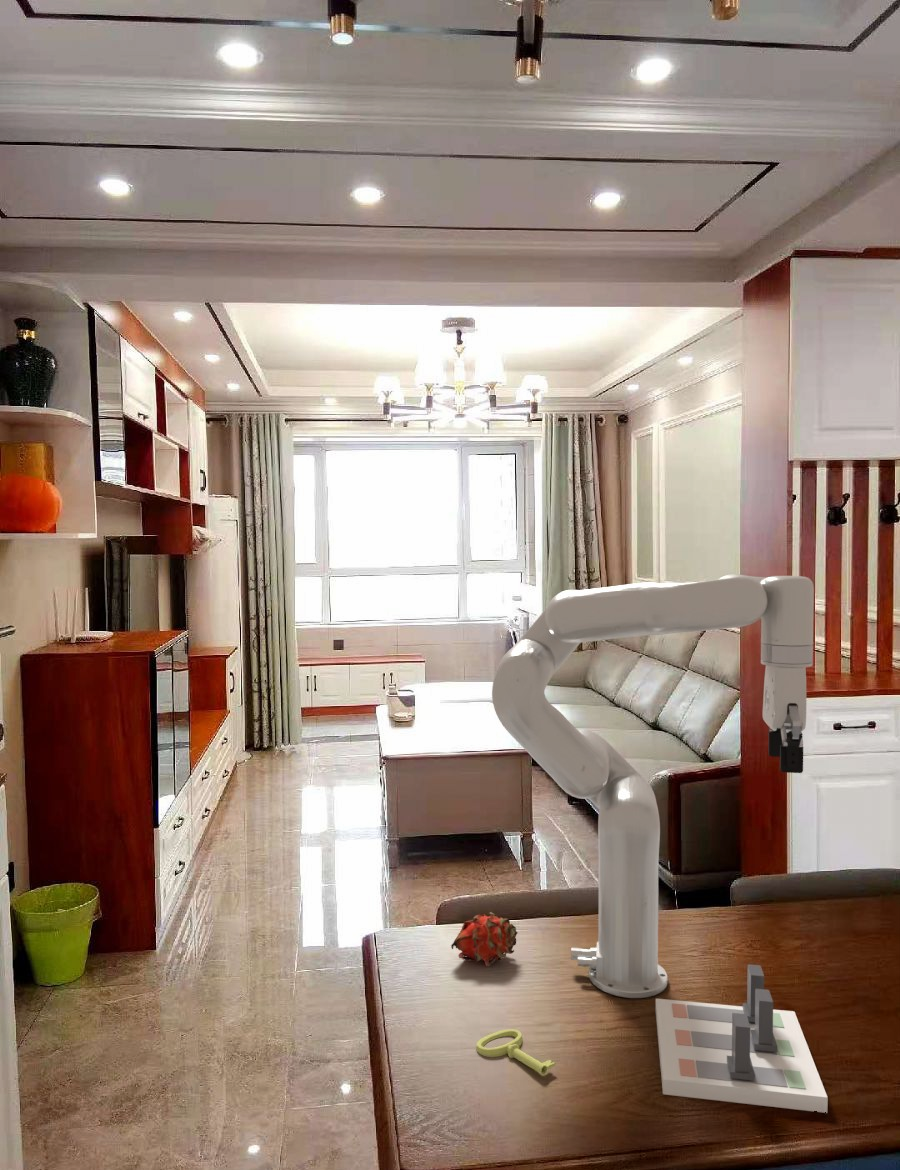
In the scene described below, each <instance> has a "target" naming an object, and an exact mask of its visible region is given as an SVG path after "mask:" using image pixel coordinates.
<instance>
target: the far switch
mask: <svg viewBox="0 0 900 1170" xmlns="http://www.w3.org/2000/svg"><path fill="white" fill-rule="evenodd" d="M746 977H747V978H746V979H747V980H746V981H747V984H746V985H747V987H746V988H747V991H746V993H747V995H746V997H747V998H746V999H747V1000H746V1002H742V1007H743V1011H744V1014H747V1018H748V1021H749V1022H755V989H765V975H764V972H763V969H762V966H761V965H759V964H747V976H746Z"/></svg>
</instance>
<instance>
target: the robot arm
mask: <svg viewBox="0 0 900 1170" xmlns="http://www.w3.org/2000/svg"><path fill="white" fill-rule="evenodd" d="M814 587H815V586H814V583H813V580H812V579H811V578H809V577H808V576H803V575H802V576H801V575H771V576H768V577H764V576H762V577H761V576H753V575H752V576H751V575H746V574H737V573H731V574H726V575H724V576H721V577H719V578H718V579H712V580H702V581H695V582H683V583H662V582H661V583H659V582H635V583H629V584H620V585H614V586H611V585H610V586H605V587H597V588H596V587H595V588H590V589H589V588H587V589H580V590H579V589H567V590H563V591H560V592H558V594H556V595H554V596H553V597H552V598H551V600H550V601H549V602H548V604H547V606H546V608H545V609H544V610H543V612H542V613H541V614H540V615H539V616H538V618H537V619H536V620H535V621H534V622H533V623H532V625H530V627H529V628H528V629H527V630H526V631H525V632H524V633H523V635H522V636H521V637H520V639H518V641H516V642H515V644H514V645H513V646H512V647H511V648H510V649H509V650H507V652H505V654H504V655H503V656H502V658H501V659H500V661H499V662H498V663H499V664H498V666H497V668H496V670H495V674H494V678H493V681H492V688H491V689H492V690H491V698H492V704H493V708H494V711H495V714H496V716H497V719H498V720H499V722H500V724H501V725H502V727H504V729H505V730H506V731H507V733H509V735H510V736H511V737H512V738H513V739H514V740H515V741H516V742H517V743H518V744H519V745H520V746H521V747H522V748H523V749H524V750H525V751H526V752H527V753H528V754H529V755H530V757H531V758H532V759H533V760H534V761H535V762H536V763H537V764H538V765H539V766H540V767H541V768H542V770H544V771H545V772H546V773H547V775H549V776H550V777H551V778H552V779H553V781H554V782H555V783H556V784H557V786H558V787H560V788H561V790H563V791H564V792H565V793H566V794H567V795H569V796H571V797H574V798H576V799H581V800H582V799H583V800H584V799H585V800H586V799H588V800H589V801H590V802H592V804H593V805H595V807H597V809H598V820H597V823H598V824H597V830H598V832H597V834H598V837H597V839H598V843H597V844H598V941H596V946H595V947H594V946H590V949H587V948H582V947H571V950H570V952H571V953H570V959H571V960H573V961H577V966H578V967H588V977H589V980H590V982H591V983H592V984H593V985H594V986H595V987H596V988H598V989H599V990H601V991H603V992H604V993H607V994H610V995H612V996H616V997H621V998H624V999H626V998H628V999H644V998H651V997H654V996H656V995H659V994H661V993H662V992H664V991H665V989H666V988H667V986H668V974H667V971H666V970H665V968H663V967H662V966H661V965H660V964H659V861H660V860H659V858H660V857H659V856H660V855H659V854H660V837H661V823H660V814H659V813H660V812H659V808H658V804H657V799H656V798H657V797H656V795H655V792H654V790H653V788H652V786H651V785H650V783H649V782H648V781H647V780H646V778H644V777H643V776H642V775H641V774H640V772H638V771H637V769H635V767H633V765H631V764H630V762H628V760H627V759H625V758H624V757H623V756H622V755H621V754H620V753H619V752H618V751H617V750H616V749H615V748H614V747H613V746H612V745H611V744H610V743H609V742H608V740H606V739H605V738H603V737H602V736H601V735H600V734H598V733H596V732H595V731H593V730H592V731H591V730H589V729H577V728H576V727H575V726H574V725H573V724H572V723H571V722H570V721H569V720H568V719H567V717H566V716H565V715H564V714H563V713H562V712H561V711H559V710H558V709H557V708H556V707H555V706H553V705H552V704H551V703H550V702H549V700H548V699H547V697H546V695H545V694H546V693H545V690H546V687H547V685H548V684H549V683H550V682H551V679H552V677H553V676H554V675H555V673H557V671H558V670H559V668H560V667H561V666H562V665H563V664H564V663H565V661H567V660H568V658H569V657H570V656H571V654H572V653H573V652H574V651H575V650H576V648H578V646H579V645H580V644H581V643H590V642H597V641H598V642H599V641H600V642H601V641H606V640H614V639H624V638H633V637H645V636H646V637H647V636H661V635H662V636H663V635H669V634H678V633H690V632H691V633H693V632H694V633H695V632H704V631H714V630H715V631H716V630H724V629H732V628H733V629H734V628H740V627H745V626H749V625H751V624H754V623H756V622H757V621H759V620H760V621H761V622H760V625H761V626H760V636H761V637H760V664H761V665H763V666H765V670H764V680H763V681H764V682H763V699H762V719H763V721H764V722H765V723H766V725H767V726H768V730H769V731H768V749H767V751H768V753H767V754H768V756H769V757H774V758H775V757H776V758H778V757H779V770H780V771H781V773H785V774H786V773H789V774H791V773H792V774H802V773H803V772H804V741H803V736H804V735H803V733H802V732H803V731H804V730H806V725H807V724H806V723H807V673H806V672H807V671H806V668H810V667H813V666H814V665H813V663H814V662H813V661H814V659H813V657H814V650H813V649H814V605H815V604H814V602H815V600H814V599H815V598H814V596H815V588H814Z"/></svg>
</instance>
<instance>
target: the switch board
mask: <svg viewBox="0 0 900 1170" xmlns="http://www.w3.org/2000/svg"><path fill="white" fill-rule="evenodd" d="M732 1013H739V1014H744V1011H743V1006H742V1005H741V1006H740V1005H730V1004H729V1005H728V1004H720V1003H718V1004H717V1003H709V1002H708V1003H707V1002H699V1001H698V1002H697V1001H685V1000H677V999H676V1000H675V999H674V1000H673V999H668V998H667V999H664V998H655V1022H656V1030H657V1031H656V1032H657V1041H658V1042H657V1043H658V1053H659V1067H660V1073H661V1075H660V1077H661V1086H662V1087H661V1088H662V1089H661V1090H662V1095H667V1096H675V1097H676V1096H677V1097H684V1098H692V1099H693V1098H694V1099H702V1100H709V1101H710V1100H711V1101H720V1102H727V1103H735V1104H736V1103H737V1104H744V1105H745V1104H747V1105H753V1106H764V1107H772V1108H773V1107H774V1108H781V1109H789V1110H798V1111H806V1112H814V1111H817V1113H824V1114H828V1101H829V1099H828V1098H829V1097H828V1094H827V1092H826V1090H825V1087H824V1085H823V1081H822V1080H821V1077H820V1074H819V1071H818V1070H817V1067H816V1064H815V1062H814V1059H813V1056H812V1054H811V1051H810V1049H809V1048H810V1047H809V1045H808V1043H807V1041H806V1038H805V1036H804V1033H803V1030H802V1028H801V1025H800V1022H799V1020H798V1017H797V1015H796V1012H795V1010H794V1011H793V1010H784V1009H782V1010H781V1009H773V1034H774V1037H775V1040H776V1043H777V1052H771V1051H761V1050H754V1047H753V1044H752V1040H751V1037H750V1058H751V1062H752V1066H753V1069H754V1073H755V1081H753V1080H744V1079H735V1078H730V1074H729V1069H728V1065H727V1056H732ZM749 1025H750V1029H752V1030H755V1022H749ZM825 1112H826V1113H825Z"/></svg>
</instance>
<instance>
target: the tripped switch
mask: <svg viewBox="0 0 900 1170" xmlns="http://www.w3.org/2000/svg"><path fill="white" fill-rule="evenodd" d="M727 1065H728V1069H729V1074H730V1078H735V1079H744V1080H753V1081H755V1073H754V1069H753V1066H752V1062H751V1058H750V1025H749V1021H748V1018H747V1014H739V1013H732V1056H727Z"/></svg>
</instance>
